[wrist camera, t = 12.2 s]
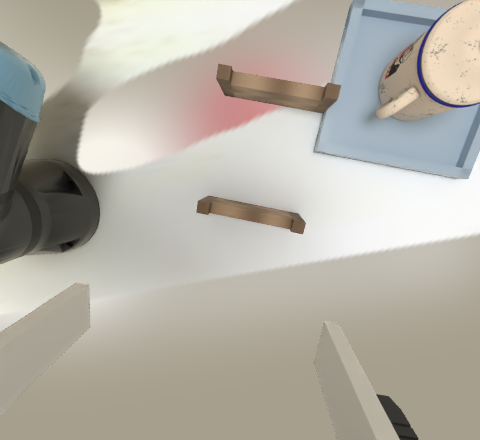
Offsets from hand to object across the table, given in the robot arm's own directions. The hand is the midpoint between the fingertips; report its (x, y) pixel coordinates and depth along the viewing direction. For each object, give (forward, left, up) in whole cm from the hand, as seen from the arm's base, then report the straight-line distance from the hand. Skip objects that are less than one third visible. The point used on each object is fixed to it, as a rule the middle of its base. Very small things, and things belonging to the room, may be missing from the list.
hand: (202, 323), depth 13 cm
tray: (+18, +22, -25) cm, 38 cm away
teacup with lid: (+17, +22, -24) cm, 37 cm away
